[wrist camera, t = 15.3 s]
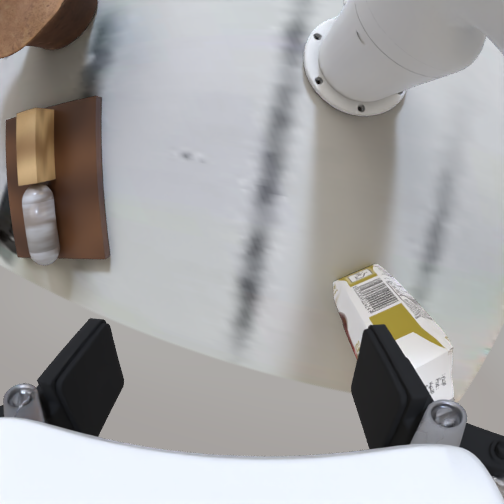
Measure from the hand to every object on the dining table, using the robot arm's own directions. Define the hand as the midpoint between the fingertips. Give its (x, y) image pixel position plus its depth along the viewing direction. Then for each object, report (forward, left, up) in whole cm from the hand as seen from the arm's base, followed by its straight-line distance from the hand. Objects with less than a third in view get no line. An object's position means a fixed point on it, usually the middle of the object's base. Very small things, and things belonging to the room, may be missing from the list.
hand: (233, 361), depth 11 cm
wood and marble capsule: (-4, -26, -25) cm, 36 cm away
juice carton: (+10, +14, -26) cm, 32 cm away
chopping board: (-5, -26, -26) cm, 37 cm away
